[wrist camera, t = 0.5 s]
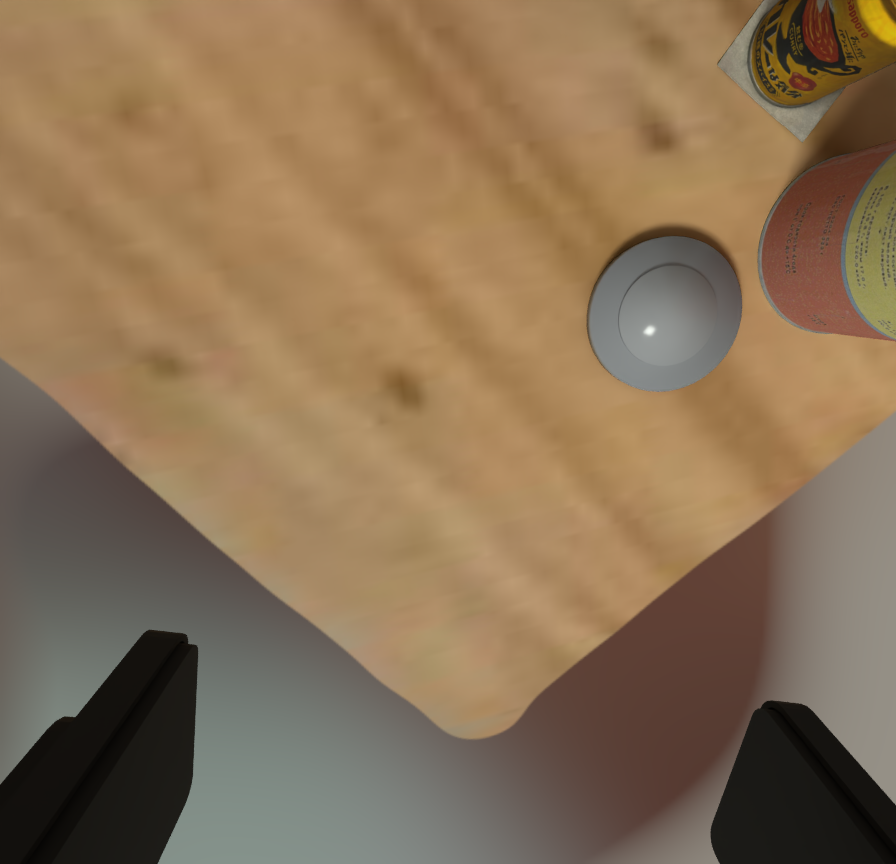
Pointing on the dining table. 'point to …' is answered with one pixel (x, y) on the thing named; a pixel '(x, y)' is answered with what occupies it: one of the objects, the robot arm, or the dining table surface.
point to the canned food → (835, 247)
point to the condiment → (810, 54)
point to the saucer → (664, 313)
